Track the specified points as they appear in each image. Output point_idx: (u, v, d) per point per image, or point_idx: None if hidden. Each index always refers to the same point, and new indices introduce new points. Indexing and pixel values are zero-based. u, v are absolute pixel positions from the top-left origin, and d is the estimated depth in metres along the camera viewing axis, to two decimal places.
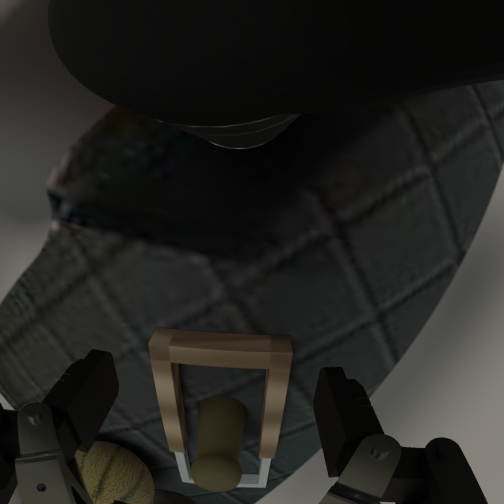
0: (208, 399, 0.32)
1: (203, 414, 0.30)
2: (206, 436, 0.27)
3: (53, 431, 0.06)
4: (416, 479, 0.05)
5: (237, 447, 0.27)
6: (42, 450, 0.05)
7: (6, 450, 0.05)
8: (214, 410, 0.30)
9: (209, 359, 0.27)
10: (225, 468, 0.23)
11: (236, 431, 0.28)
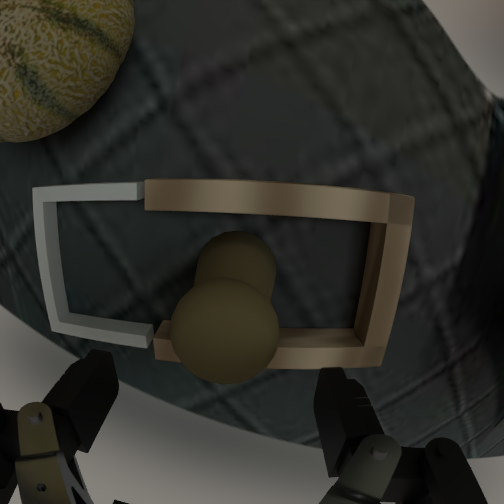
0: (271, 252, 0.22)
1: (264, 255, 0.20)
2: (265, 283, 0.17)
3: (53, 431, 0.06)
4: (416, 479, 0.05)
5: None
6: (42, 450, 0.05)
7: (6, 450, 0.05)
8: (273, 271, 0.21)
9: (389, 278, 0.20)
10: None
11: None
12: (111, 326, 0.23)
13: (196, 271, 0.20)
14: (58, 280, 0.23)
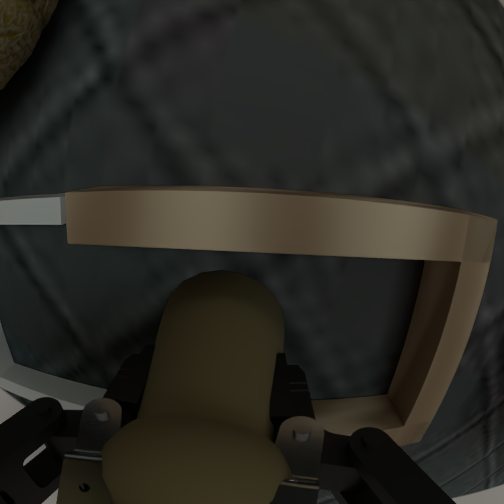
0: (277, 304, 0.14)
1: (266, 318, 0.12)
2: (269, 385, 0.09)
3: None
4: (339, 466, 0.06)
5: None
6: (100, 449, 0.05)
7: (57, 453, 0.06)
8: (281, 340, 0.12)
9: (452, 340, 0.11)
10: None
11: None
12: (59, 390, 0.15)
13: None
14: None
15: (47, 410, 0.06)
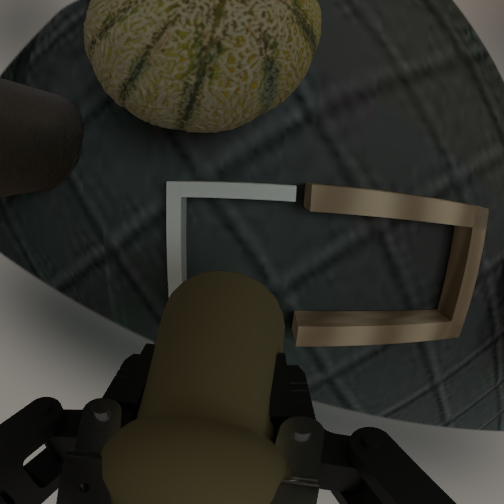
0: (276, 304, 0.14)
1: (266, 318, 0.12)
2: (269, 385, 0.09)
3: None
4: (339, 466, 0.06)
5: None
6: (99, 449, 0.05)
7: (57, 453, 0.06)
8: (281, 340, 0.12)
9: (471, 267, 0.23)
10: None
11: None
12: None
13: None
14: (184, 278, 0.26)
15: (47, 410, 0.06)
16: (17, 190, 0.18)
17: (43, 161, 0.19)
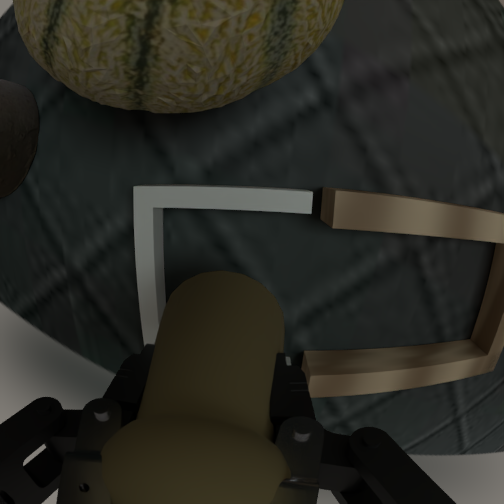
0: (277, 304, 0.14)
1: (266, 318, 0.12)
2: (269, 385, 0.09)
3: None
4: (339, 466, 0.06)
5: None
6: (99, 449, 0.05)
7: (57, 453, 0.06)
8: (281, 341, 0.12)
9: None
10: None
11: None
12: None
13: None
14: None
15: (47, 410, 0.06)
16: None
17: None
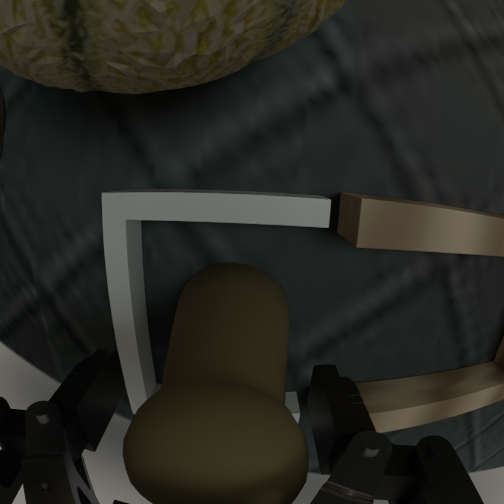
0: (282, 293, 0.15)
1: (274, 304, 0.13)
2: (279, 361, 0.10)
3: (62, 429, 0.06)
4: (407, 477, 0.05)
5: None
6: (49, 449, 0.05)
7: (12, 450, 0.05)
8: (287, 326, 0.14)
9: None
10: None
11: None
12: None
13: (172, 328, 0.13)
14: (145, 344, 0.15)
15: None
16: None
17: None
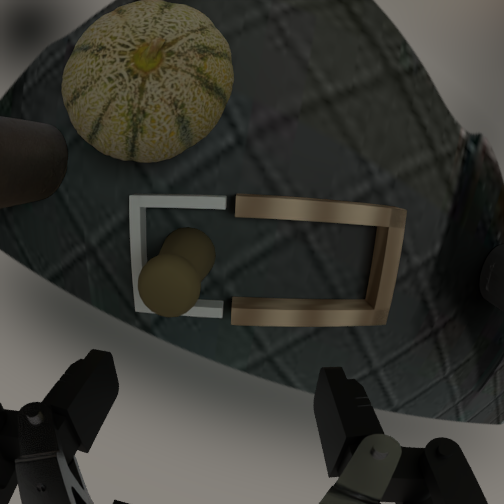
0: (210, 242, 0.32)
1: (203, 243, 0.30)
2: (198, 259, 0.27)
3: (53, 431, 0.06)
4: (416, 479, 0.05)
5: None
6: (42, 450, 0.05)
7: (6, 450, 0.05)
8: (209, 254, 0.31)
9: (390, 262, 0.30)
10: (195, 302, 0.24)
11: None
12: None
13: None
14: None
15: None
16: (18, 202, 0.24)
17: (37, 180, 0.25)
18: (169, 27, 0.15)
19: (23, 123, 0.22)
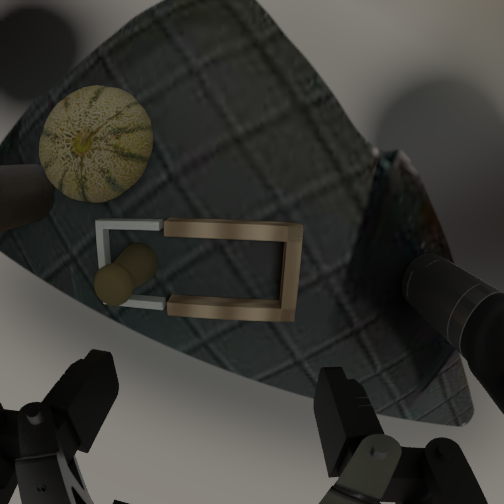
0: (153, 253, 0.42)
1: (145, 255, 0.40)
2: (137, 267, 0.37)
3: (53, 431, 0.06)
4: (416, 479, 0.05)
5: None
6: (42, 450, 0.05)
7: (6, 450, 0.05)
8: (150, 263, 0.41)
9: (290, 270, 0.40)
10: (128, 296, 0.34)
11: (139, 285, 0.39)
12: (142, 298, 0.43)
13: None
14: None
15: None
16: (19, 225, 0.35)
17: (32, 210, 0.35)
18: (94, 119, 0.25)
19: (19, 170, 0.32)
